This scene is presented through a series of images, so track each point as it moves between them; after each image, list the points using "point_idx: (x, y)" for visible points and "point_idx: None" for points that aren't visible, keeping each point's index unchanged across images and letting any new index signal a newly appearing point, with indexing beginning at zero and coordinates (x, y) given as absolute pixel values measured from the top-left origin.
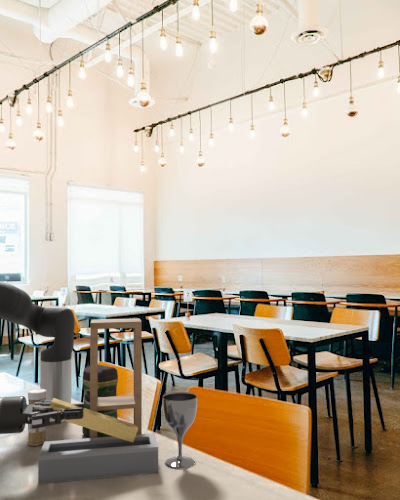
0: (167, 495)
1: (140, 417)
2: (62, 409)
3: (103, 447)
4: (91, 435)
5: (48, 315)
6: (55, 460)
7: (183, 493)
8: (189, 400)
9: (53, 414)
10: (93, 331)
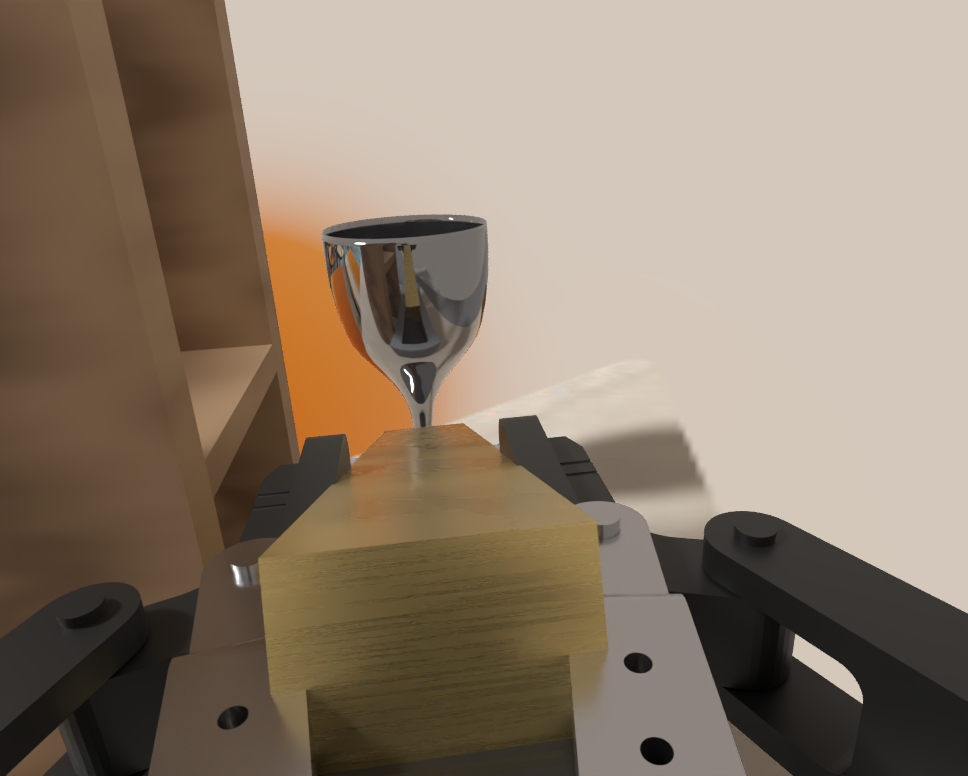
0: (718, 513)
1: (291, 415)
2: (617, 518)
3: None
4: None
5: None
6: None
7: (690, 483)
8: (475, 218)
9: (868, 581)
10: None
